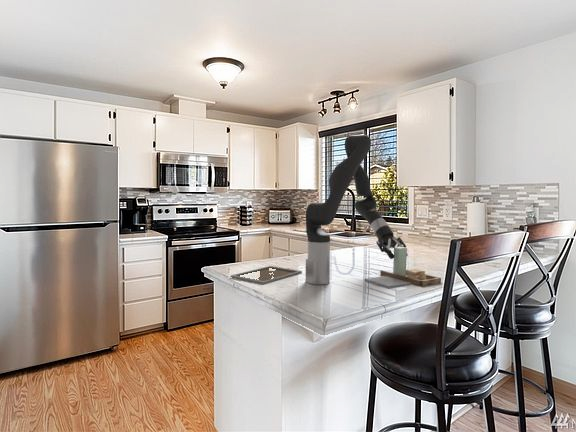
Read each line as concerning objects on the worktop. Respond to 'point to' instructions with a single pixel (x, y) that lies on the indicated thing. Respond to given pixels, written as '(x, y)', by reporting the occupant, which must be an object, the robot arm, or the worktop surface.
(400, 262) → the sage green block
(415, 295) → the worktop surface
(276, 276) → the dark grey tray
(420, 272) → the oak offcut stack
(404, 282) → the slate tile
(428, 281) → the walnut rack
